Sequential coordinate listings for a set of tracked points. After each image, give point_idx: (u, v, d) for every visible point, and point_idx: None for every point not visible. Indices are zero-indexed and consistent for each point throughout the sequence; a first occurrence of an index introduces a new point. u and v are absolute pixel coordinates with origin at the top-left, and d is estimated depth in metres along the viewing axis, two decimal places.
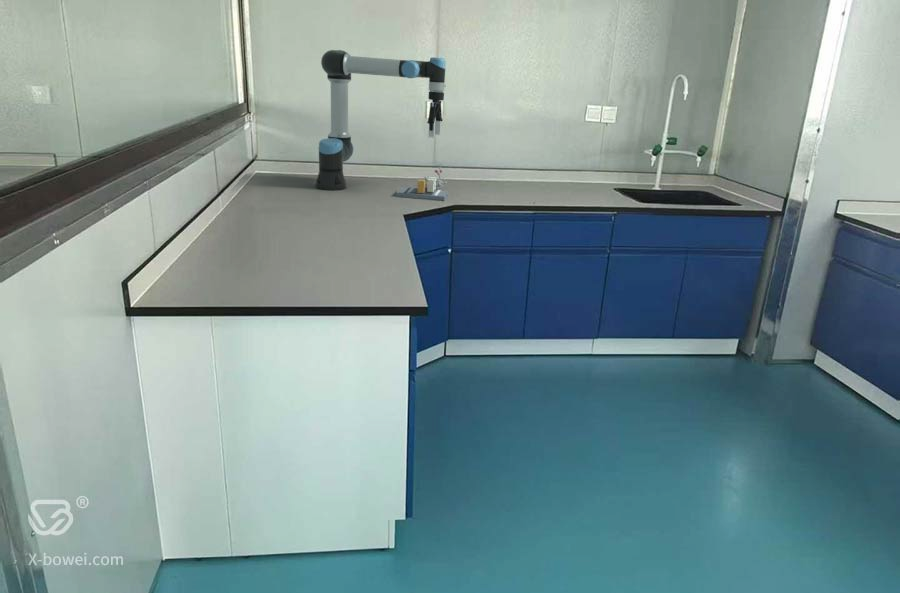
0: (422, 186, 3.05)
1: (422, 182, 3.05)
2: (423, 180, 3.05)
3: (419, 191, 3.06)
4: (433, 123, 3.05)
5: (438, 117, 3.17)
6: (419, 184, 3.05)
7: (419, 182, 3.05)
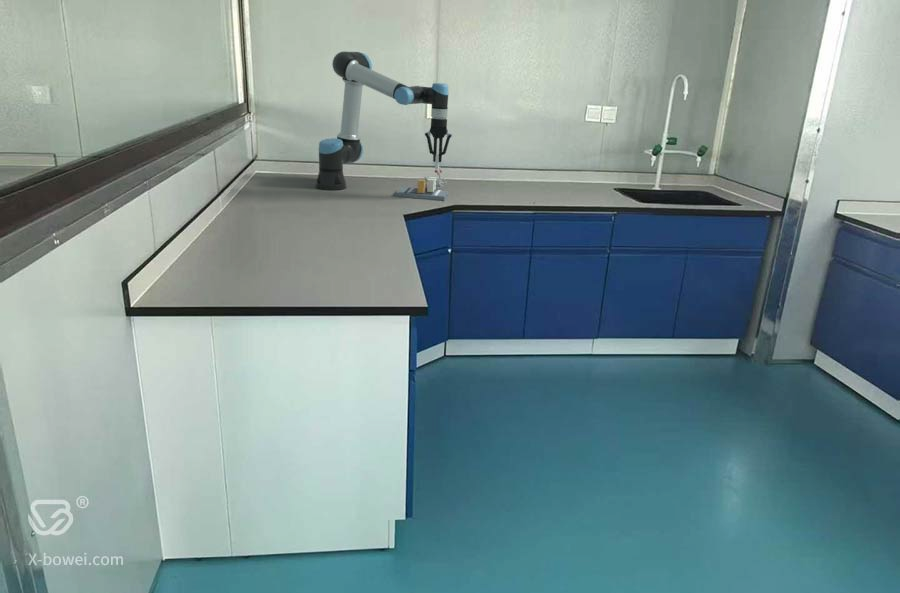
0: (422, 186, 3.05)
1: (422, 182, 3.05)
2: (423, 180, 3.05)
3: (419, 191, 3.06)
4: (434, 155, 2.99)
5: (439, 149, 2.99)
6: (419, 184, 3.05)
7: (419, 182, 3.05)
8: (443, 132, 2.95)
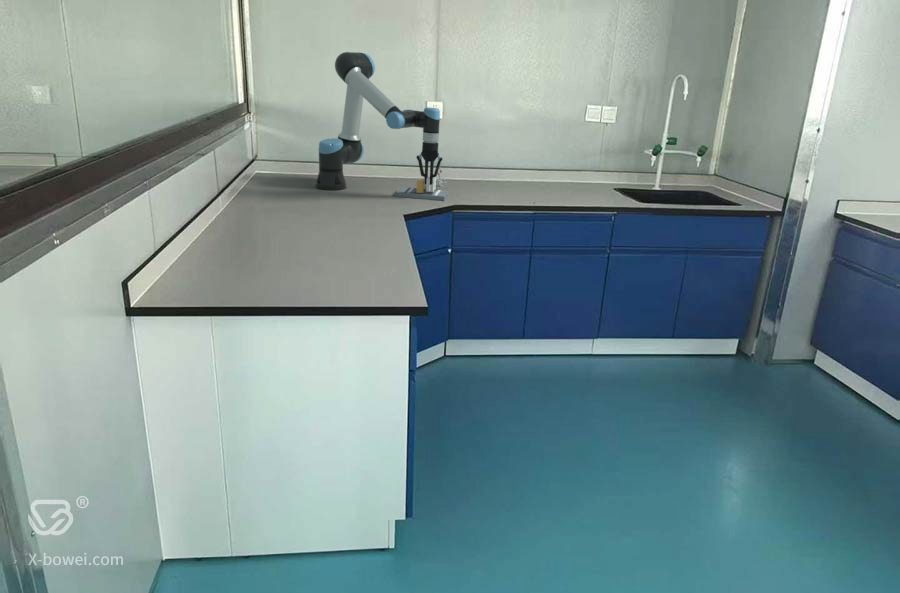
0: (421, 186, 3.05)
1: (421, 182, 3.05)
2: (422, 180, 3.05)
3: (418, 191, 3.06)
4: (425, 177, 3.04)
5: (430, 172, 3.03)
6: (418, 184, 3.05)
7: (418, 182, 3.05)
8: (434, 155, 3.00)
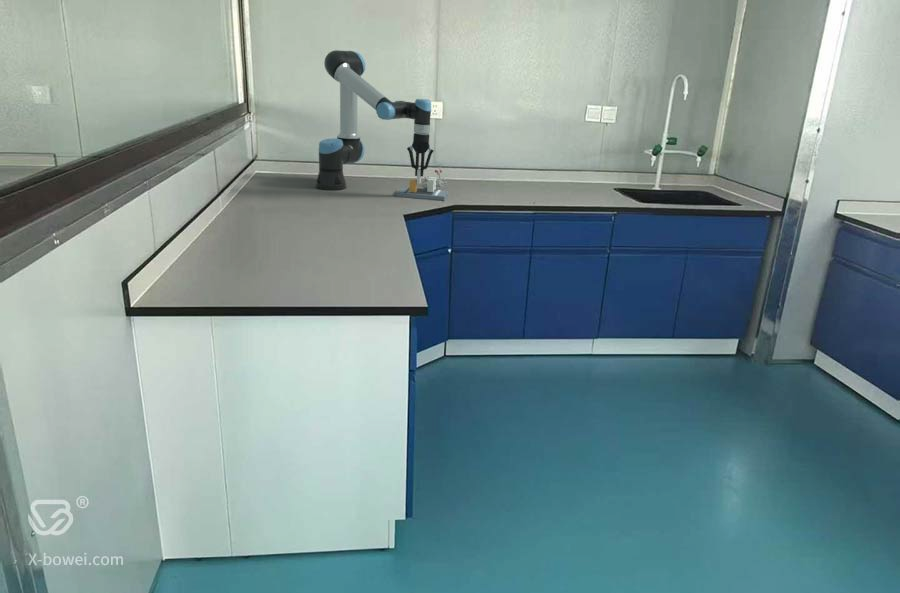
0: (414, 185, 3.06)
1: (414, 181, 3.05)
2: (415, 179, 3.06)
3: (411, 191, 3.07)
4: (416, 169, 3.03)
5: None
6: (411, 183, 3.06)
7: (411, 181, 3.05)
8: (425, 147, 2.99)
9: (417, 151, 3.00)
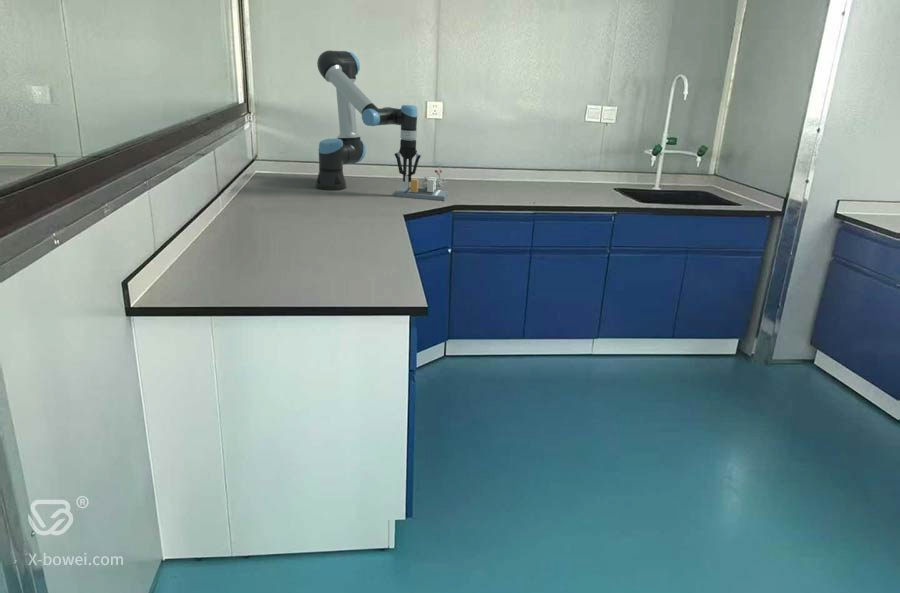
0: (415, 185, 3.06)
1: (415, 181, 3.05)
2: (416, 179, 3.06)
3: (412, 191, 3.07)
4: (403, 175, 3.05)
5: None
6: (412, 183, 3.05)
7: (412, 181, 3.05)
8: (412, 153, 3.01)
9: (404, 157, 3.01)
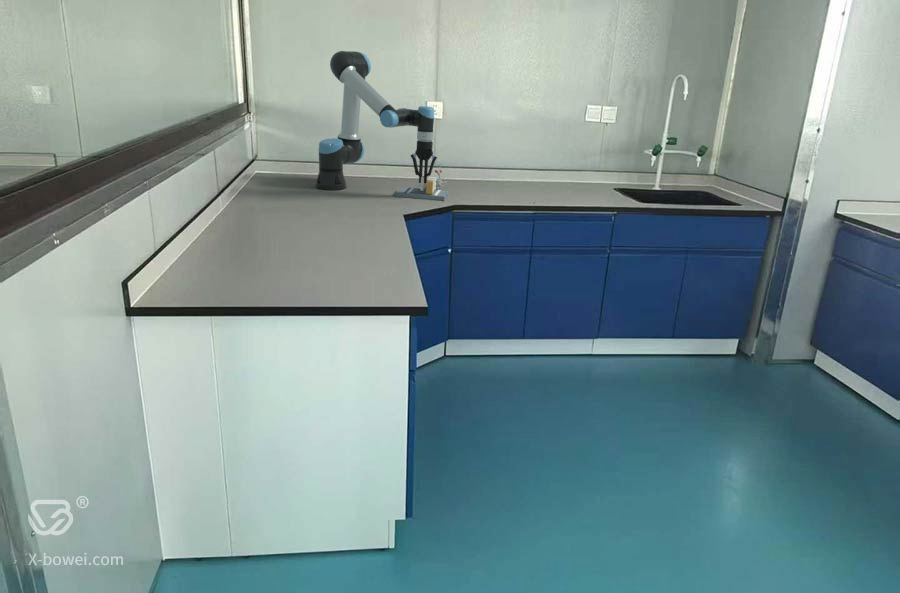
0: (431, 187, 3.05)
1: (431, 183, 3.04)
2: (432, 181, 3.05)
3: (427, 192, 3.06)
4: (419, 176, 3.04)
5: None
6: (428, 185, 3.05)
7: (428, 183, 3.04)
8: (428, 154, 3.00)
9: (420, 158, 3.00)
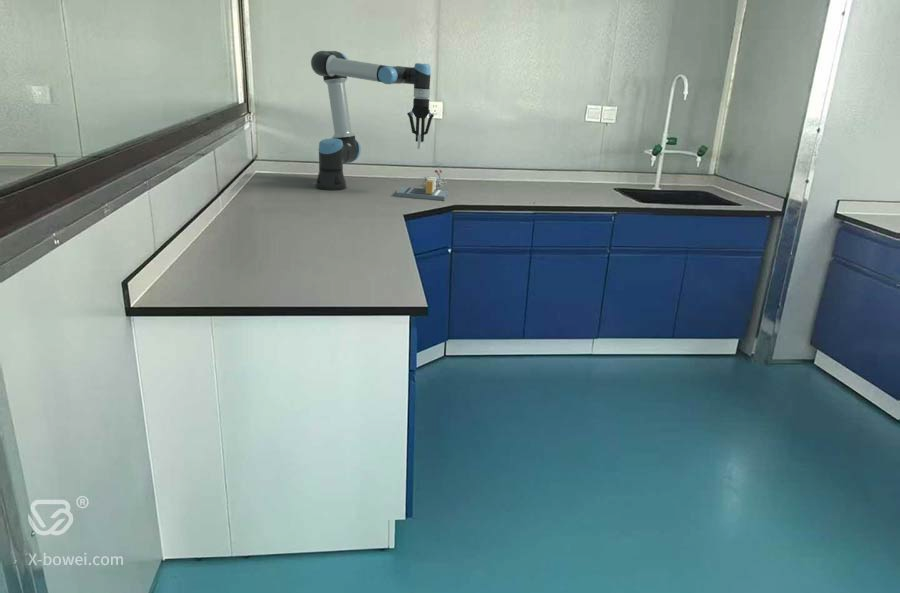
0: (430, 187, 3.05)
1: (430, 183, 3.04)
2: (431, 181, 3.05)
3: (427, 192, 3.06)
4: (416, 134, 3.04)
5: None
6: (427, 185, 3.05)
7: (427, 183, 3.04)
8: (425, 112, 3.00)
9: (417, 116, 3.01)
